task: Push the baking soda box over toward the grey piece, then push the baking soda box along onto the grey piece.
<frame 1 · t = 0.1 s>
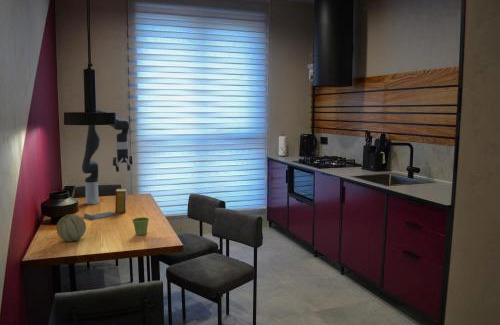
hand: (123, 171, 292), 29 cm above the table, fingers open, 8 cm apart
plant pot: (141, 234, 238), on the table
cantaloupe: (72, 241, 226), on the table
baking soda box: (120, 212, 294), on the table, touching grey piece
grey piece: (102, 215, 283), on the table
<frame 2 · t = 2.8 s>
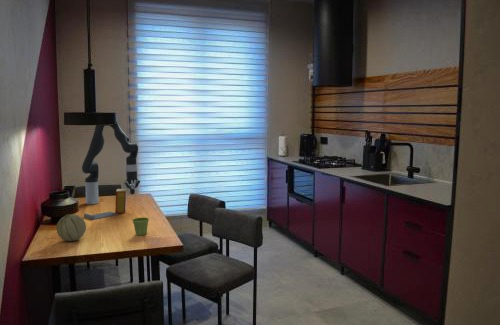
hand: (132, 194, 300), 12 cm above the table, fingers closed
nothing on the table moved.
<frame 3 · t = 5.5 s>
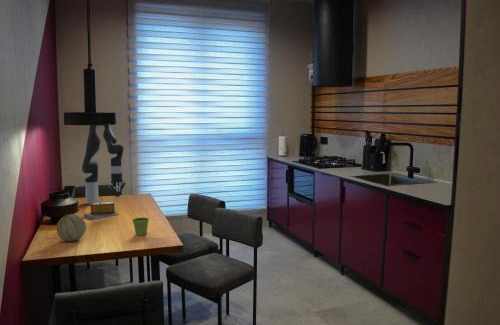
hand: (117, 196, 291), 12 cm above the table, fingers closed
baking soda box: (115, 206, 293), point 4 cm above the table, touching grey piece
everything else where it was.
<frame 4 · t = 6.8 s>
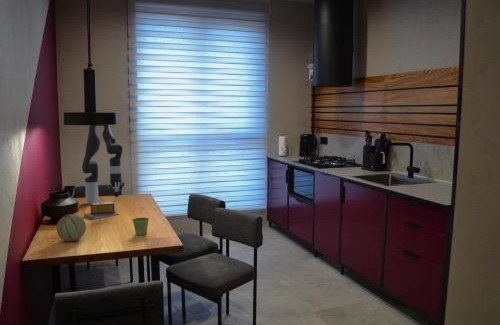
hand: (116, 196, 290), 12 cm above the table, fingers closed
nothing on the table moved.
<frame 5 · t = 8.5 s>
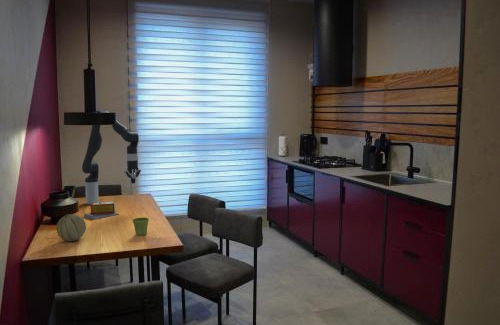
hand: (133, 183, 302), 19 cm above the table, fingers closed
nothing on the table moved.
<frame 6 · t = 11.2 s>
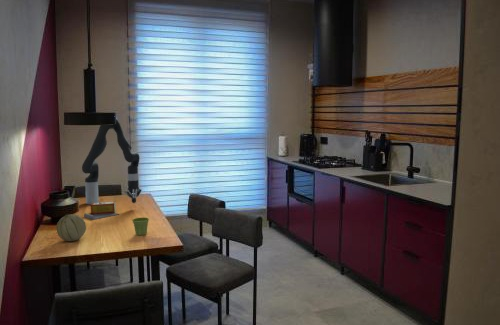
hand: (133, 202, 304), 4 cm above the table, fingers closed
nothing on the table moved.
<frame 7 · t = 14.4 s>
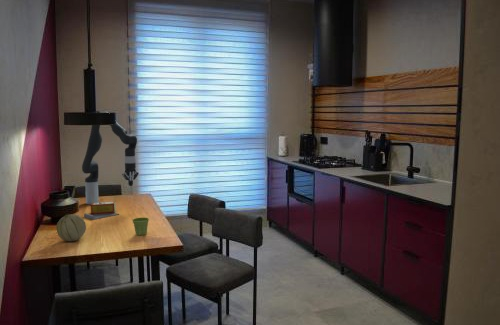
hand: (130, 185, 301), 17 cm above the table, fingers closed
nothing on the table moved.
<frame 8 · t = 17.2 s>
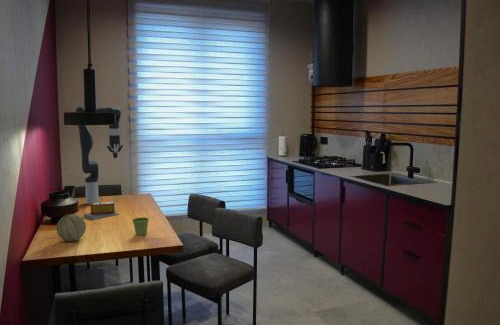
hand: (115, 157, 307), 37 cm above the table, fingers closed
nothing on the table moved.
at the end: baking soda box tilted 91°; baking soda box inside the target area (11.3 cm from its centre), point 3.8 cm above the table; baking soda box touching grey piece, table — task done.
